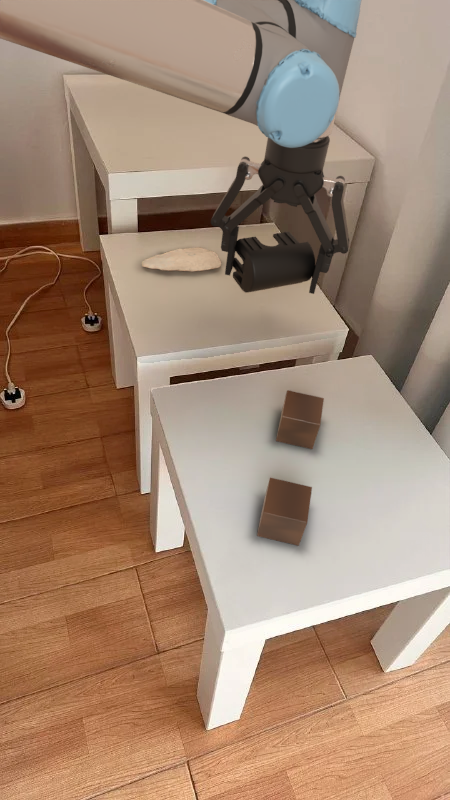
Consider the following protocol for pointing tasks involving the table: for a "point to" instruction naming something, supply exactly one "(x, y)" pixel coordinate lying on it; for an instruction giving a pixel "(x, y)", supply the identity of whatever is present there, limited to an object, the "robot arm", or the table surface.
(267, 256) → the end cap
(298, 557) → the table surface
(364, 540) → the table surface
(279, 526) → the walnut block near
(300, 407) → the walnut block middle
